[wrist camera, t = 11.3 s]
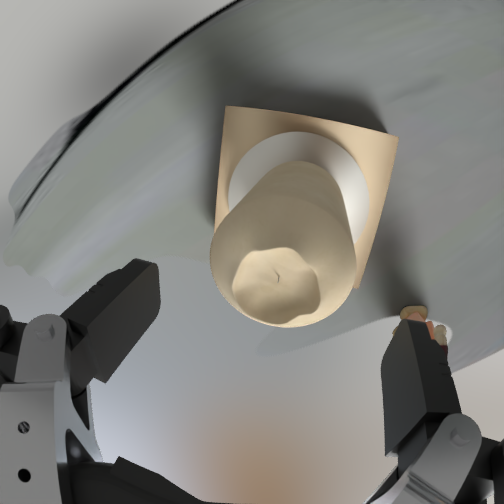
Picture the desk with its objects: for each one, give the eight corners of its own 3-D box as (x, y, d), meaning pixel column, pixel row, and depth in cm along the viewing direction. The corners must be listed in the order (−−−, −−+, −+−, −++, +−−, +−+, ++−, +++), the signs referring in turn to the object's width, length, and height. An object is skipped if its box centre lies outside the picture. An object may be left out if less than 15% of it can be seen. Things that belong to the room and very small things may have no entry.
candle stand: (388, 133, 19) (402, 138, 15) (355, 267, 24) (359, 294, 20) (238, 106, 20) (221, 105, 17) (225, 240, 26) (208, 262, 22)
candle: (277, 144, 17) (228, 176, 9) (359, 186, 17) (393, 261, 8) (242, 220, 20) (177, 310, 11) (317, 258, 20) (307, 370, 11)
